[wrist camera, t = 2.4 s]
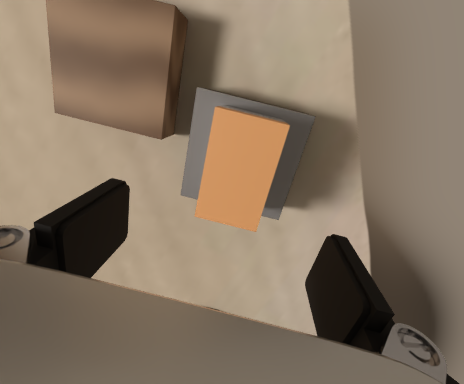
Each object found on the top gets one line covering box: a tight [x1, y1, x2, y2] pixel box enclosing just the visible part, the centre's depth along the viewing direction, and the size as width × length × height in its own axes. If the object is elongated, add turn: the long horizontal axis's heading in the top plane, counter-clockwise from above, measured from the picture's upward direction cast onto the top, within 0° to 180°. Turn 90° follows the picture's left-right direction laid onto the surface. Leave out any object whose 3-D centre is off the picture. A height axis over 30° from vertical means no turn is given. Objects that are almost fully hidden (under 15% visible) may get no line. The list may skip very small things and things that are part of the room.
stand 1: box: [46, 0, 188, 139], centre depth 24 cm, size 12×12×4 cm
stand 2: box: [181, 87, 315, 220], centre depth 26 cm, size 12×12×4 cm
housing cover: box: [195, 106, 290, 232], centre depth 20 cm, size 10×6×2 cm, turn 167°
